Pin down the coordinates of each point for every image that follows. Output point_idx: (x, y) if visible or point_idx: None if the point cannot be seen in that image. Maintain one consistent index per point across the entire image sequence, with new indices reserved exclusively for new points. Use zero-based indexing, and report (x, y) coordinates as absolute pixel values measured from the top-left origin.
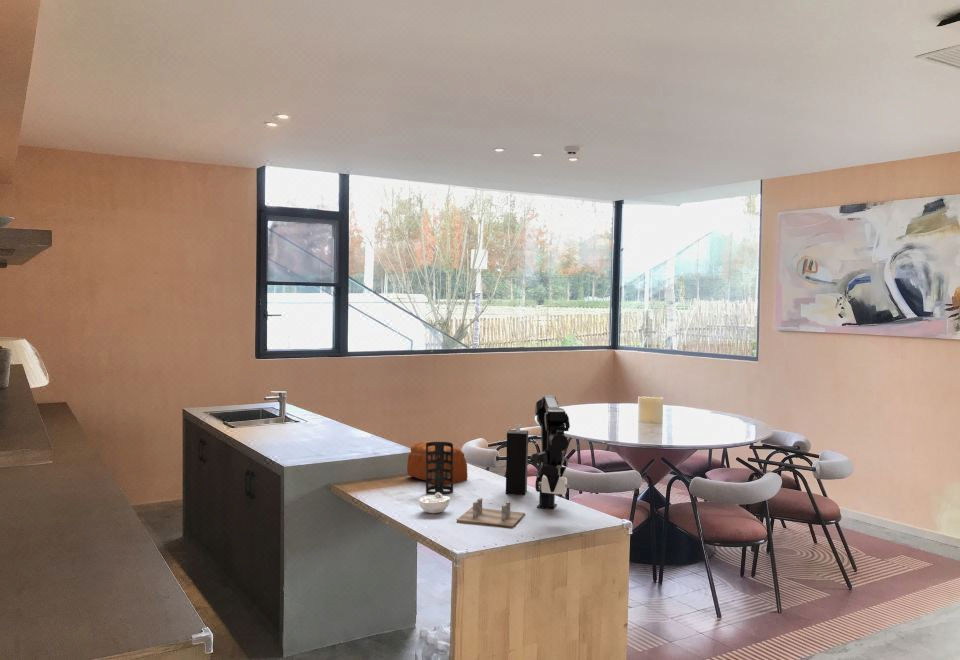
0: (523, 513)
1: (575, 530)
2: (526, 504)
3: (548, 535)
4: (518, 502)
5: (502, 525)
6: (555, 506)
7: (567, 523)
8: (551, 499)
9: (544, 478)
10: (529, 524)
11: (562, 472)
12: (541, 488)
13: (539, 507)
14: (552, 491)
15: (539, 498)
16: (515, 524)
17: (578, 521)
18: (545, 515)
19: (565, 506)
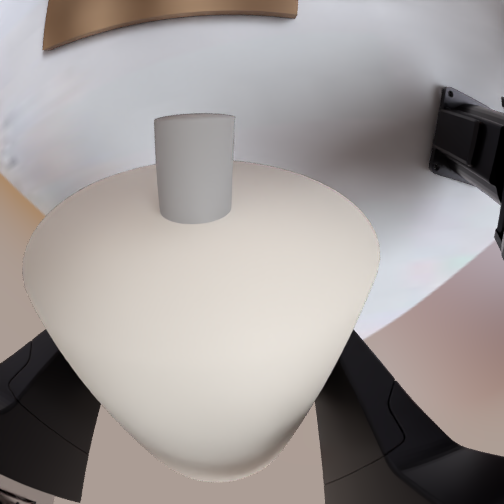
0: (277, 7)
1: None
2: (485, 50)
3: (45, 203)
4: (496, 25)
5: (49, 9)
6: (461, 181)
7: None
8: (471, 176)
9: (49, 333)
10: (131, 80)
11: (330, 499)
12: (88, 189)
13: (443, 100)
14: None
15: (491, 110)
16: (84, 35)
17: None
18: (334, 128)
19: (474, 219)
